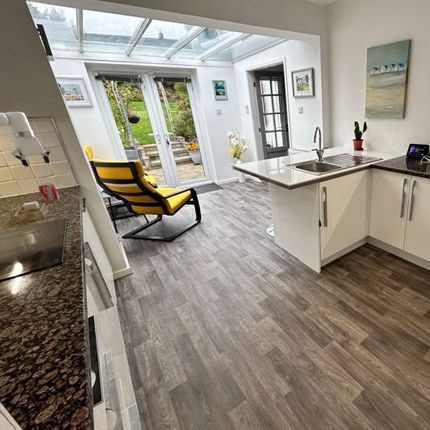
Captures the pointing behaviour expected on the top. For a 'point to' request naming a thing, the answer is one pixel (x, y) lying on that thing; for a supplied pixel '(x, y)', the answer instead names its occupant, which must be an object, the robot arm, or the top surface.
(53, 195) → the soda can
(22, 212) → the rack
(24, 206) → the block
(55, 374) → the top surface
